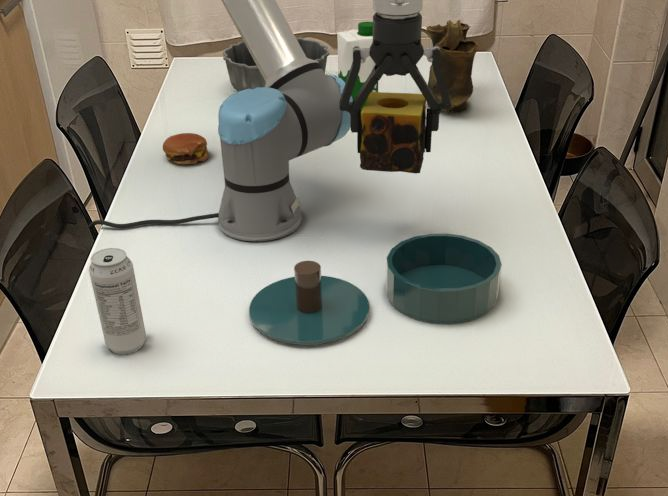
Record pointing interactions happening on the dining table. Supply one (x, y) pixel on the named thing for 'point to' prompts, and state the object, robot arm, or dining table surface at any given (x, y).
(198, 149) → the burger
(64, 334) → the dining table surface
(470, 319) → the pot
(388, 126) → the candle
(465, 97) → the pottery vessel
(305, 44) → the bundt pan
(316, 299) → the lid
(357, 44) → the milk carton
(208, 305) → the dining table surface
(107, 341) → the energy drink can
